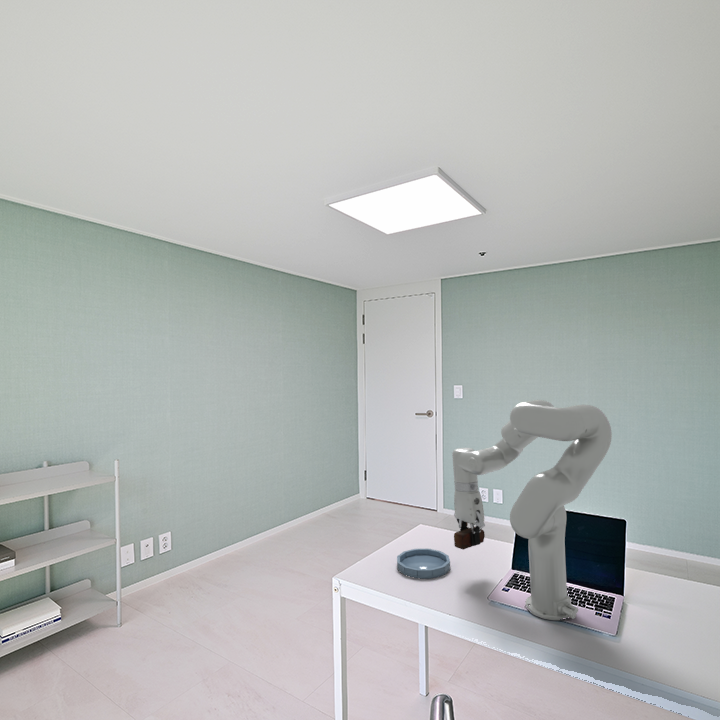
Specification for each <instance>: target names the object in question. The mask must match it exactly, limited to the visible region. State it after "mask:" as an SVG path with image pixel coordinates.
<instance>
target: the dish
mask: <svg viewBox="0 0 720 720" xmlns="http://www.w3.org/2000/svg"><path fill="white" fill-rule="evenodd" d="M396 565H397V566H396V567H397V570H398V572H399V571H400V572H399V573H401V574H402V573H403V574H402V575H404V576H406V575H407V576H406V577H408V576H410V577H409V578H412V577H414V578H413V579H418V578H420V580H422V579H423V580H429V579H431V580H432V579H436V578H440V577H443V576H445V575H447V574H448V573H449V572H450V570H451V569H450V568H451V560H450V556H449V555H448V554H447V553H445V552H443V551H442V550H437V549H433V548H432V549H431V548H412V549H409V550H405V551H402V552H401V553H400V554H398V555H397V556H396Z"/></svg>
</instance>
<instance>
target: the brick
mask: <svg viewBox="0 0 720 720" xmlns="http://www.w3.org/2000/svg"><path fill="white" fill-rule="evenodd" d="M475 527H476V526H474V528H475ZM471 533H472V531H471V527H469V528H468V529H465V530H462V531H460V530H457V531H456V532H454V534H453V540H454V541H453V543H454V544H453V546H454V547H455V548H457V549H460V550H466V549H469V548H472V547H473V546H472V545H471ZM485 536H486V535H485V531H484V530H483V528H482V529H481V532H480V544H481V543H482V544H483V543H484V541H485Z"/></svg>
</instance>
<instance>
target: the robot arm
mask: <svg viewBox="0 0 720 720" xmlns="http://www.w3.org/2000/svg"><path fill="white" fill-rule="evenodd" d="M500 433H501V436H502V438H501V439H500V440H499V441H498V442H496V443H495V444H494V445H493V446H490V447H487V448H481V449H478V450H475V449H474V448H471V447H457V448H454V449H453V451H452V452H451V453H452V465H453V466H452V467H453V480H454V483H453V484H454V497H453V498H454V502H453V503H454V505H453V507H454V514H453V516H454V518H455V519H456V522H457V523H458V528H459V531H462V530H465V529H468V528H471V531H472V533H471V545H472V547H476V546H478V545H481V543H480V532H481V529H482V530H483V528H484V527H486V524H485V509H484V504H483V499H482V495H481V492H480V491H479V479H478V476H483V475H486V474H489V473H494V472H496V471H497V472H498V471H500V470H502V469H504V468H505V467H507V466H508V465H509V464H511V463H512V462H513V461H516V459H518V457H519V456H520V455H521V454H522V453H523V452H524V451H523V450H524V449H525V448H526V447H527V446H529V445H530V444H531V443H533V441H535V440H536V439H538V438H541V439H542V438H543V439H546V440H547V439H548V440H552V441H553V440H554V441H559V442H571V441H572V442H571V444H570V445H569V446H567V448H566V449H565V451H564V452H563V453H562V454H561V457H560V458H559V460H558V461H557V463H556V464H555V465H553V467H551V468H550V469H547V470H544V471H541V472H538V473H537V474H534V476H533V477H531V478H530V479H529V481H528V482H527V483H526V485H525V486H524V488H523V489H522V491H521V493H520V494H519V496H518V497H517V498H516V500H515V502H514V503H513V506H512V507H511V509H510V513H509V522H510V526H511V528H512V530H513V531H514V532H515V534H517V535H518V536H520V537H521V538H523V539H528V546H527V547H528V560H529V561H528V562H529V563H528V564H529V584H530V596H528V597H527V598H526V599H525V607H526V606H527V608H528V609H529V610H530V611H531V612H530V614H531V615H534V616H536V617H538V618H540V619H543V620H544V619H545V620H548V621H561V620H560V619H563V618H568V617H570V618H571V619H573V620H574V619H576V617H577V614H578V613H579V608H578V607H576V606H575V605H573V604H572V601H571V597H570V596H569V595H568V589H567V588H568V587H567V566H566V545H565V541H566V539H565V537H566V527H567V511H566V507H565V506H566V505H568V504H570V503H572V502H575V500H576V499H577V498H578V497H579V496H580V494H581V493H582V491H583V489H584V488H585V486H586V485H587V484H588V483H589V480H590V479H591V478H592V477H593V475H594V473H595V472H596V471H597V469H598V467H599V466H600V464H601V463H602V461H603V460H604V458H605V457H606V455H607V453H608V451H609V449H610V446H611V443H612V434H613V433H612V426H611V424H610V421H609V419H608V417H607V416H606V414H605V413H604V412H603V411H602V410H601V409H600V408H599V407H597V406H594V405H591V404H578V405H577V404H575V405H571V406H565V407H559V406H557V407H555V406H554V405H553V404H552V403H551V402H549V401H547V400H543V399H537V400H536V399H535V400H529V401H528V400H527V401H522V402H519V403H517V404H516V405H515V406H514V407H512V409H511V411H510V414H509V421H507V422H506V423H505V424H504V425H503V426H502V427H501V431H500ZM468 524H469V526H470V527H469V526H468ZM474 527H475V528H474ZM529 605H530V606H529ZM527 608H526V609H527ZM568 619H569V618H568Z"/></svg>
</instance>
